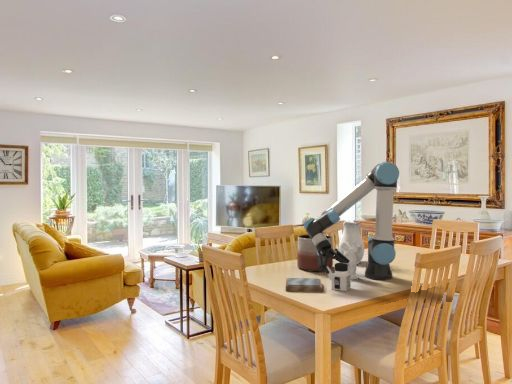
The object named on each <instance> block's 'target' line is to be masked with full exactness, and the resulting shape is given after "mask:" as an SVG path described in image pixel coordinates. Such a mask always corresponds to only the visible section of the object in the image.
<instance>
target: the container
mask: <svg viewBox="0 0 512 384" xmlns="http://www.w3.org/2000/svg"><path fill="white" fill-rule="evenodd" d="M347 272H348V265H347V264H346V263H340V262H336V263H335V264H334V272H332V273H333V275H334V278H333V280H331V290H333V291H341V292H347V291H348V290H349V289H351V284H352V283H351V273H347Z"/></svg>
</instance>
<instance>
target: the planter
mask: <svg viewBox="0 0 512 384" xmlns="http://www.w3.org/2000/svg"><path fill="white" fill-rule="evenodd" d="M325 236H326V238H327V239H328V241H329V242H330V244H331V248H332V249H333V250H334V248H333V240H334V239H333V236H331V235H330V234H329V235H328V234H325ZM317 252H318V250H317V248H316V246H315V245H314V243H313V241H312V240H311V238H310V236H309V235H308V233H306V234H301V235H298V236H297V255H296V256H297V259H296V260H297V262H296V263H297V268H299V269H300V270H303V271H309V272H325V271H324V270H322V268H321V269H320V268H319V265H318V257H317V255H316V253H317ZM322 260H323V256H322ZM333 265H334V259H332V258H331V259H330V258H329V259H327V266H328V267H329V268H330V270H331V269H332V268H333ZM327 266H326V267H327Z"/></svg>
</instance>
